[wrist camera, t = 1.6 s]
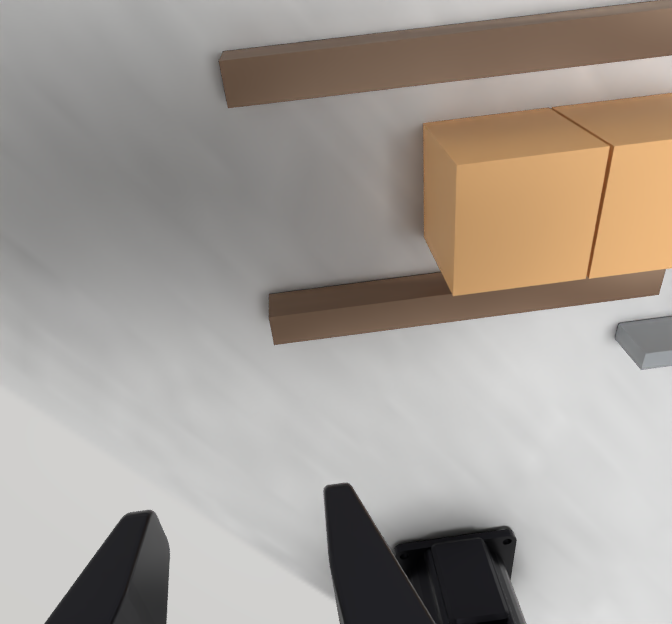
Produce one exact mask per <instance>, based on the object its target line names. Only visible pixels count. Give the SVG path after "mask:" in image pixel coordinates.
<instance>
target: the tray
mask: <svg viewBox="0 0 672 624" xmlns="http://www.w3.org/2000/svg"><path fill="white" fill-rule="evenodd" d="M615 340H616V341H617V342H618V343H619V344H620V346H621V347H622V348H623V349H624V350H625V351H626V353H627V354H628V355H629V356H630V357H631V358H632V360H633V361H634V362H635V363H636V364H637V366H638V367H639V368H640V369H641V370H644V369H651V368H659V367H666V366H672V316H671V317H663V318H656V319H648V320H640V321H633V322H625V323H619V324H618V328H617V333H616V337H615Z"/></svg>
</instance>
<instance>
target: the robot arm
mask: <svg viewBox="0 0 672 624" xmlns="http://www.w3.org/2000/svg"><path fill="white" fill-rule="evenodd" d="M323 492H324V506H325V518H326V531H327V543H328V555H329V563H330V569H331V575H332V581H333V587H334V592H335V598H336V604H337V610H338V615H339V621H340V624H526V622H525V619H524V616H523V614H522V611H521V608H520V605H519V603H518V600H517V597H516V594H515V592H514V589H513V586H512V584H511V581H510V580H511V573H512V567H513V560H514V553H515V547H516V537H515V535H514V532H513V531H512V530H509V529H505V530H498V531H491V532H484V533H477V534H470V535H462V536H455V537H448V538H441V539H434V540H427V541H420V542H413V543H406V544H400V545H398V546H396V547H395V548H394V555H393V553H392V551H391V550H390V548H389V546H388V545H387V543H386V541H385V540H384V538H383V536H382V535H381V533H380V532H379V530H378V528H377V527H376V525H375V523H374V522H373V520H372V518H371V517H370V515H369V513H368V512H367V510H366V508H365V507H364V505H363V504H362V502H361V500H360V499H359V497H358V495H357V494H356V492H355V490H354V489H353V487H352V486H351V485H350V484H349V483H339V484H332V485H327V486H326V487H324V491H323ZM169 561H170V549H169V543H168V540H167V537H166V535H165V533H164V531H163V528H162V526H161V524H160V522H159V519H158V517H157V515H156V513H155V512H154V511H152V510H145V511H137V512H130V513H127V514H126V515H124V516H123V517H122V519H121V520H120V521H119V523H118V524H117V525H116V527H115V528H114V529H113V531H112V532H111V533H110V535H109V536H108V538H107V539H106V540H105V542H104V543H103V544H102V546H101V547H100V549H99V550H98V551H97V552H96V554H95V555H94V557H93V558H92V559H91V561H90V562H89V563H88V565H87V566H86V568H85V569H84V570H83V572H82V573H81V574H80V576H79V577H78V578H77V580H76V581H75V583H74V584H73V586H72V587H71V588H70V590H69V591H68V592H67V594H66V595H65V596H64V598H63V599H62V600H61V602H60V603H59V604H58V606H57V607H56V609H55V610H54V611H53V613H52V614H51V615H50V617H49V618H48V620H47V621H46V622H45V624H166V620H167V619H166V618H167V600H168V580H169Z"/></svg>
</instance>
